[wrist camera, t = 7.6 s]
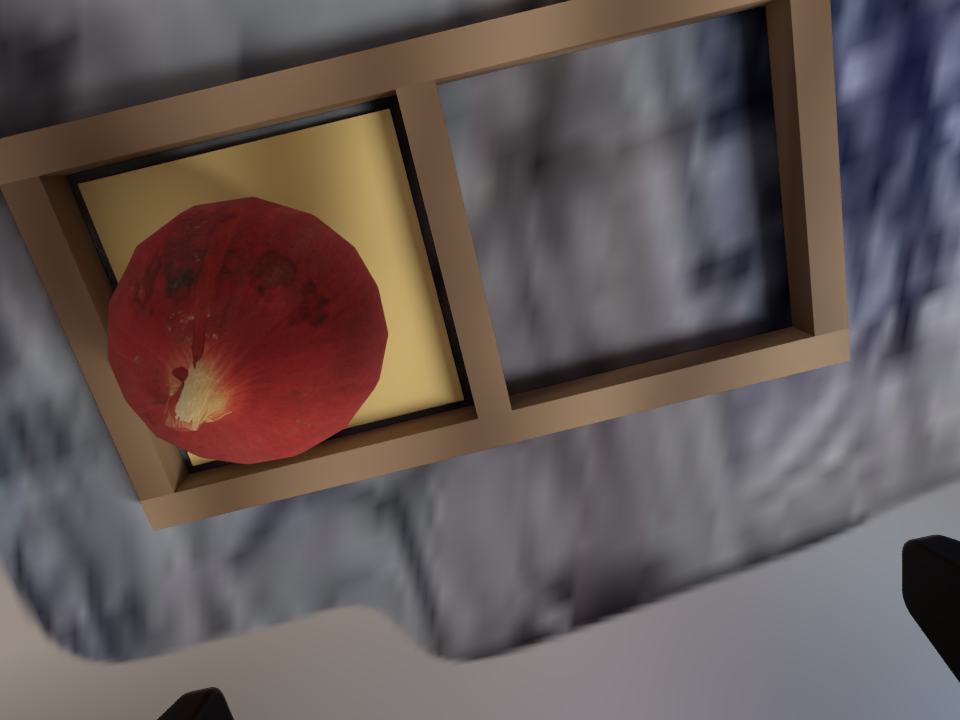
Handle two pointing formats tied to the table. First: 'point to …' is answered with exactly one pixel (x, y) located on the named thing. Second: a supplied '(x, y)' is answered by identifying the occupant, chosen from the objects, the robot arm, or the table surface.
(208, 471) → the wooden divided frame
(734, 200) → the table surface
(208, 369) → the red pomegranate
